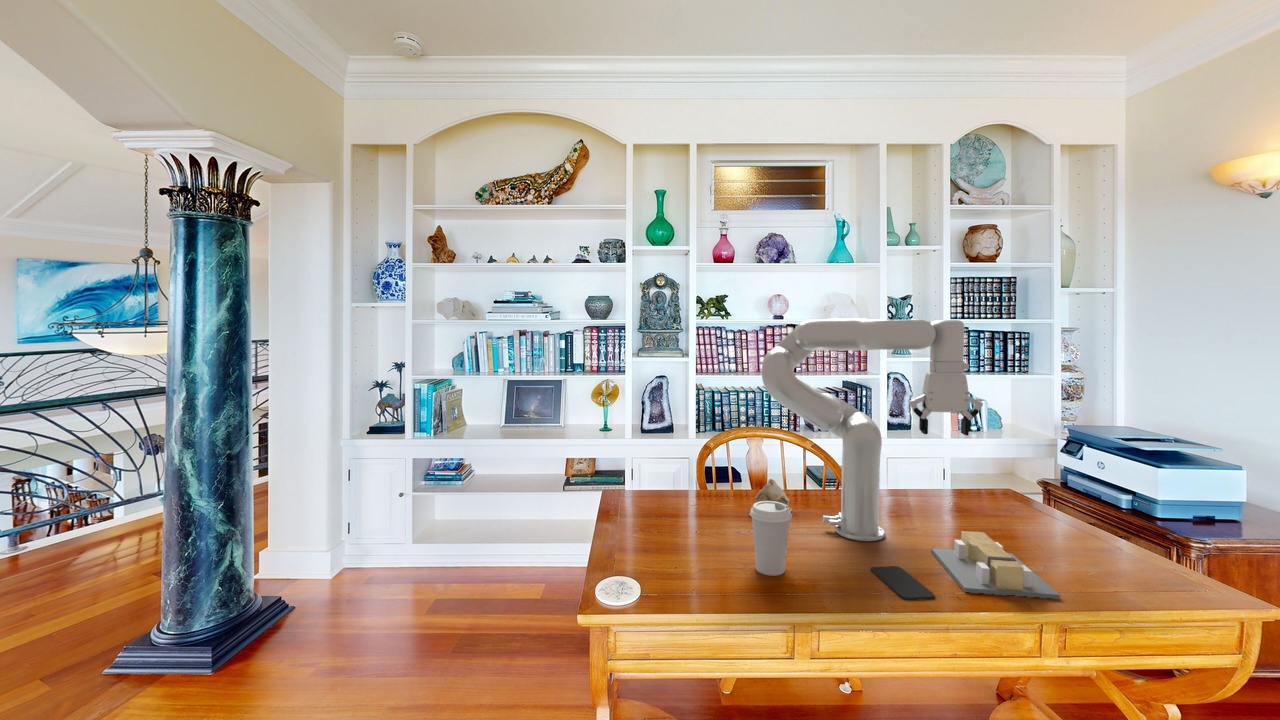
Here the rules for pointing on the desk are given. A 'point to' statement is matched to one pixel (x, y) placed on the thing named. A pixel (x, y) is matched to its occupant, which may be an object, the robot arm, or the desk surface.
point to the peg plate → (988, 575)
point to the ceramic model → (772, 494)
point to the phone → (902, 583)
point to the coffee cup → (770, 536)
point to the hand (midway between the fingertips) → (944, 433)
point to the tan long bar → (993, 560)
